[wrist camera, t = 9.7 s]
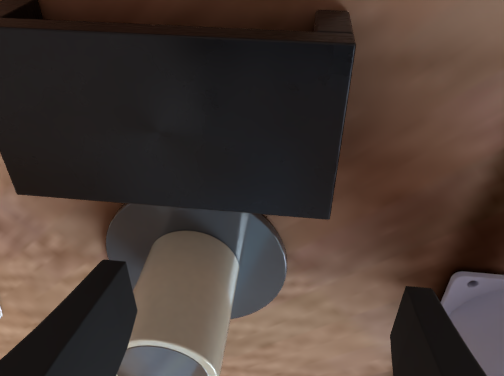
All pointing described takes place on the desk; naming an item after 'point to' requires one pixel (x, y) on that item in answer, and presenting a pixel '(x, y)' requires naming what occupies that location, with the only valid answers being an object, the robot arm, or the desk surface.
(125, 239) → the coaster
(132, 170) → the shelf
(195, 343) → the cup
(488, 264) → the desk surface
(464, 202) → the desk surface
